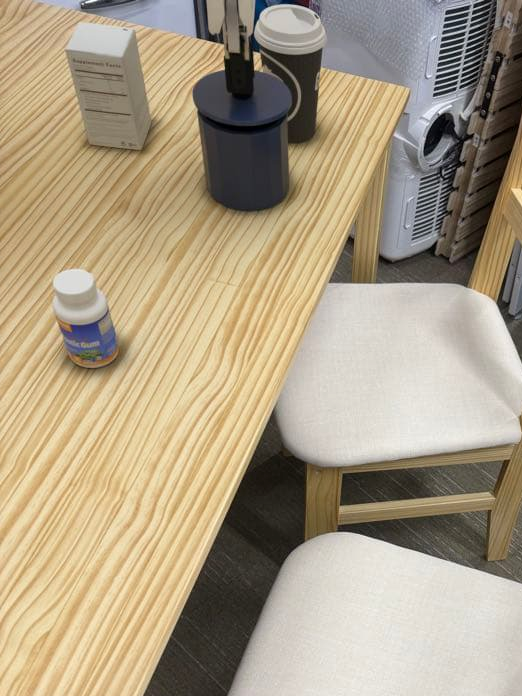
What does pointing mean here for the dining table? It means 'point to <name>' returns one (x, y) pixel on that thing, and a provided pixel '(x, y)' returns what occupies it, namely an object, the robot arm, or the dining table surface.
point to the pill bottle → (84, 319)
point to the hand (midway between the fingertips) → (240, 83)
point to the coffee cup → (294, 61)
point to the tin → (245, 163)
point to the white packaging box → (109, 85)
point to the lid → (242, 100)
